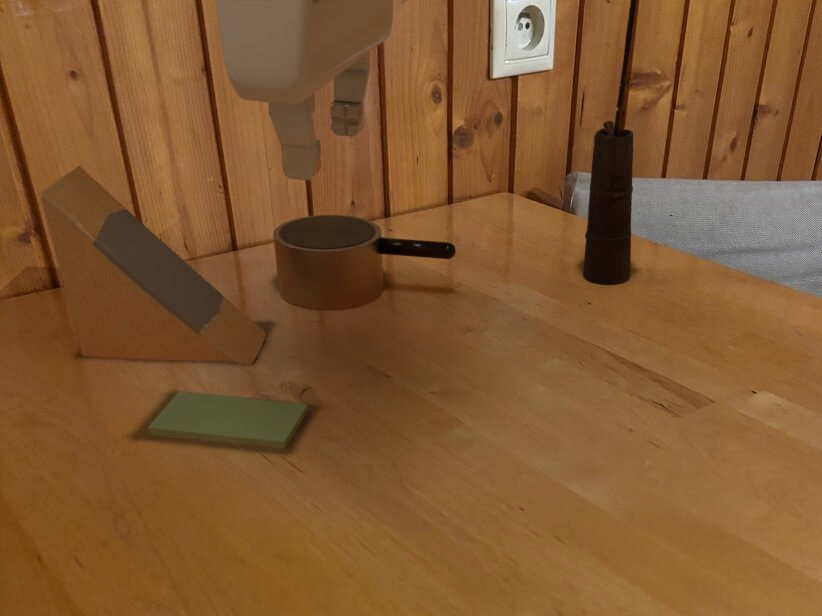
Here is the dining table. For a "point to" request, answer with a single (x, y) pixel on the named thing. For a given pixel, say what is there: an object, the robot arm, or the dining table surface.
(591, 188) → the butter churn
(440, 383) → the dining table surface
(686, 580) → the dining table surface
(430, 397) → the dining table surface
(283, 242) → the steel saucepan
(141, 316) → the sandwich container
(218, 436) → the green rectangular slab
